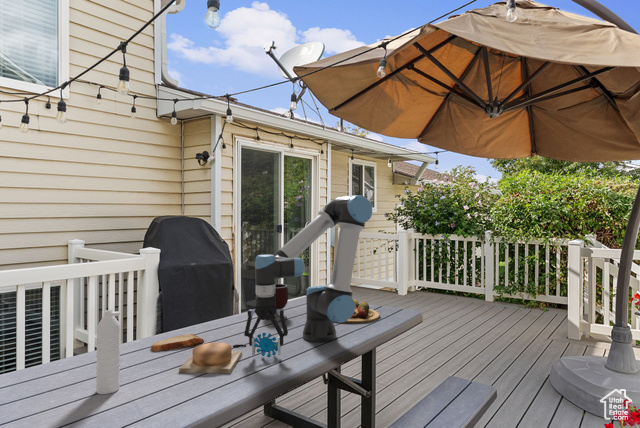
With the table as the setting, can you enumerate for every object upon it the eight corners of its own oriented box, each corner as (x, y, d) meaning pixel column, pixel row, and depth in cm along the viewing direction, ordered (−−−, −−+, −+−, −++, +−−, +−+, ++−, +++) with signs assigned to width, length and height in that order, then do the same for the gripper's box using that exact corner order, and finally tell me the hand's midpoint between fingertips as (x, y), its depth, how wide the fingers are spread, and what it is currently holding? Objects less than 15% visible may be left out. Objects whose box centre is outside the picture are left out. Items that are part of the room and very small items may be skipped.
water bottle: (92, 391, 124) (92, 311, 124) (113, 384, 129) (113, 307, 129) (106, 398, 119) (106, 314, 119) (127, 390, 124) (128, 310, 124)
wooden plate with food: (311, 320, 209) (311, 305, 209) (332, 307, 238) (333, 293, 238) (370, 328, 197) (371, 312, 196) (385, 313, 226) (385, 299, 226)
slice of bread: (146, 352, 161) (146, 342, 161) (170, 338, 179) (170, 330, 179) (186, 354, 158) (187, 345, 158) (207, 340, 175) (207, 332, 176)
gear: (257, 356, 146) (252, 331, 152) (252, 364, 149) (247, 340, 156) (284, 354, 151) (278, 331, 158) (279, 362, 155) (273, 339, 161)
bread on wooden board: (241, 355, 156) (241, 341, 156) (230, 373, 138) (230, 357, 138) (196, 354, 157) (196, 340, 157) (179, 372, 139) (179, 356, 139)
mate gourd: (269, 313, 224) (269, 277, 224) (292, 315, 219) (292, 279, 219) (256, 320, 209) (256, 282, 209) (280, 322, 204) (280, 283, 205)
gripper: (234, 297, 149) (235, 357, 149) (293, 297, 148) (294, 357, 148) (239, 293, 156) (240, 350, 156) (294, 293, 156) (295, 350, 156)
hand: (266, 353), depth 152 cm, fingers closed on gear, 9 cm apart
